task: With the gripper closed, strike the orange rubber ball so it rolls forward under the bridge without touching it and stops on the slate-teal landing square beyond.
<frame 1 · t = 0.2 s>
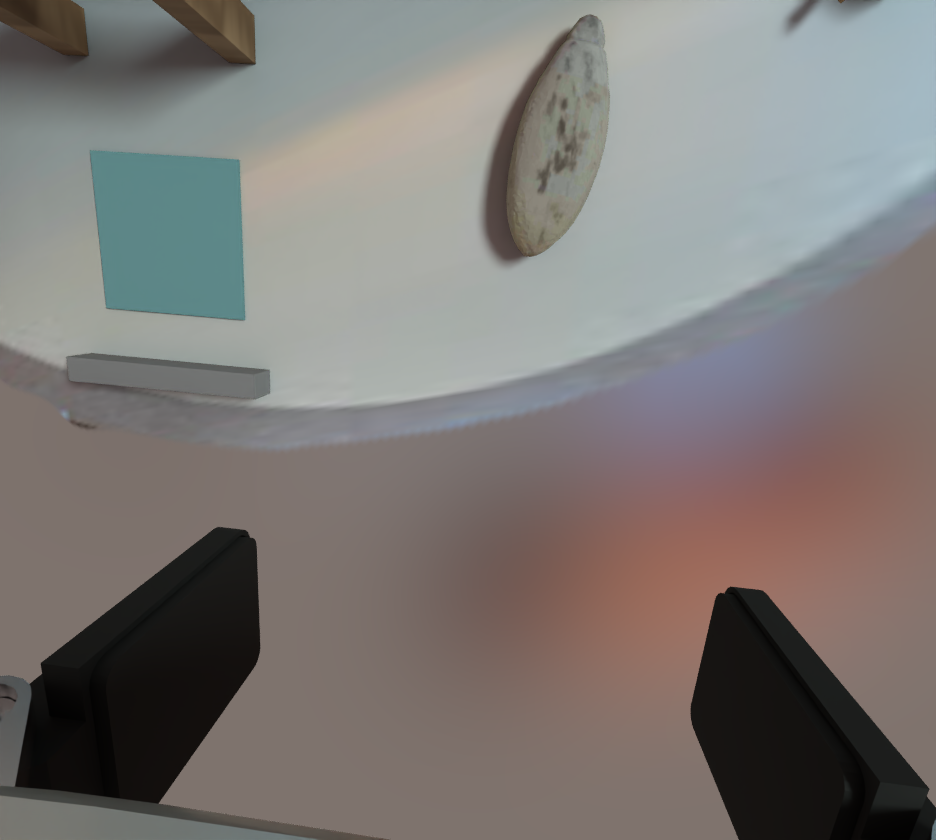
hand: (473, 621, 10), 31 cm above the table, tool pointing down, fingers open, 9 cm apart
bridge: (156, 35, 36), on the table
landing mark: (170, 237, 40), on the table
decorative stone: (557, 152, 36), on the table
stopper rail: (180, 373, 42), on the table
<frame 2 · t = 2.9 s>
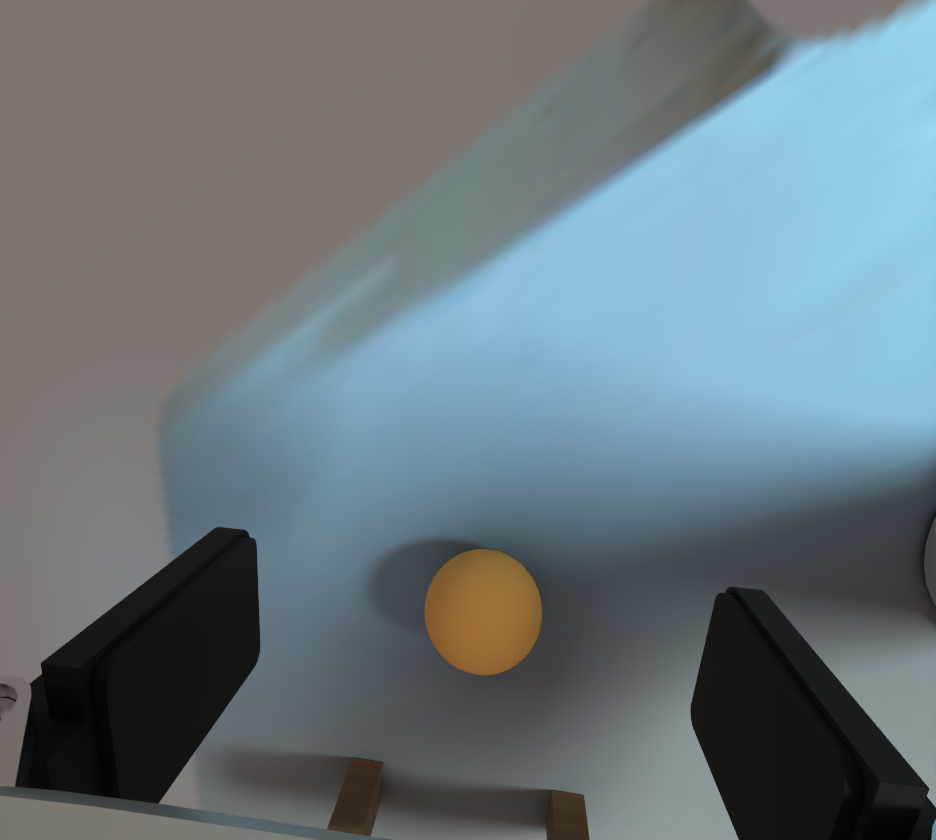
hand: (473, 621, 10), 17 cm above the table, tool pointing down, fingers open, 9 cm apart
bridge: (464, 794, 32), on the table
ball: (483, 609, 25), on the table
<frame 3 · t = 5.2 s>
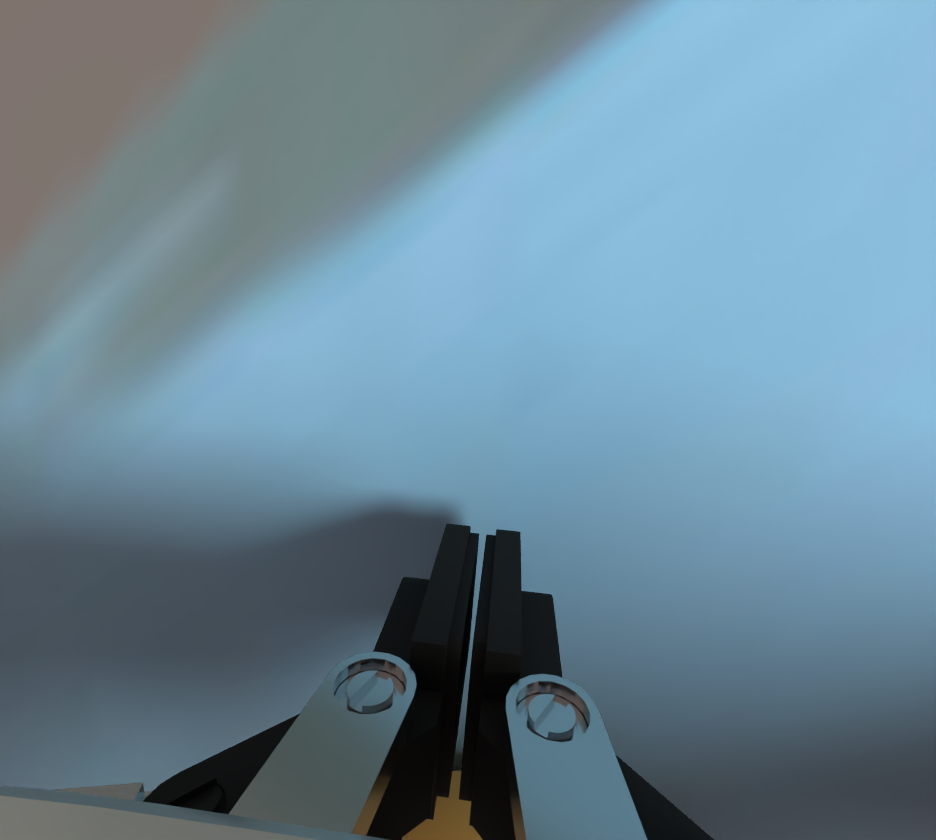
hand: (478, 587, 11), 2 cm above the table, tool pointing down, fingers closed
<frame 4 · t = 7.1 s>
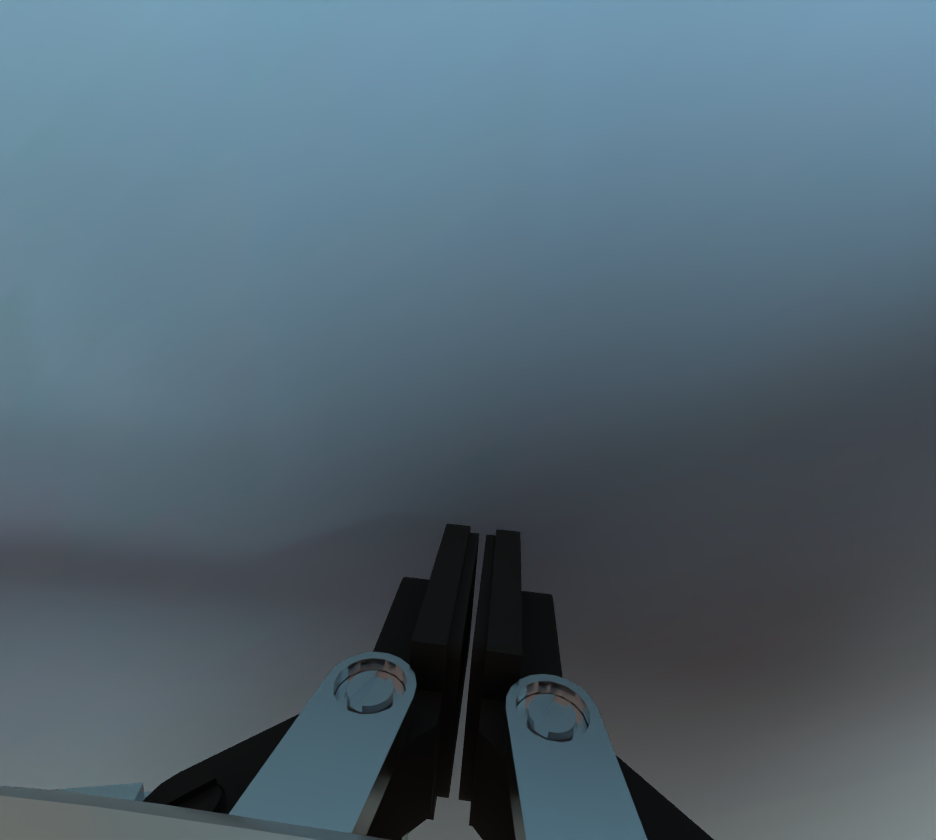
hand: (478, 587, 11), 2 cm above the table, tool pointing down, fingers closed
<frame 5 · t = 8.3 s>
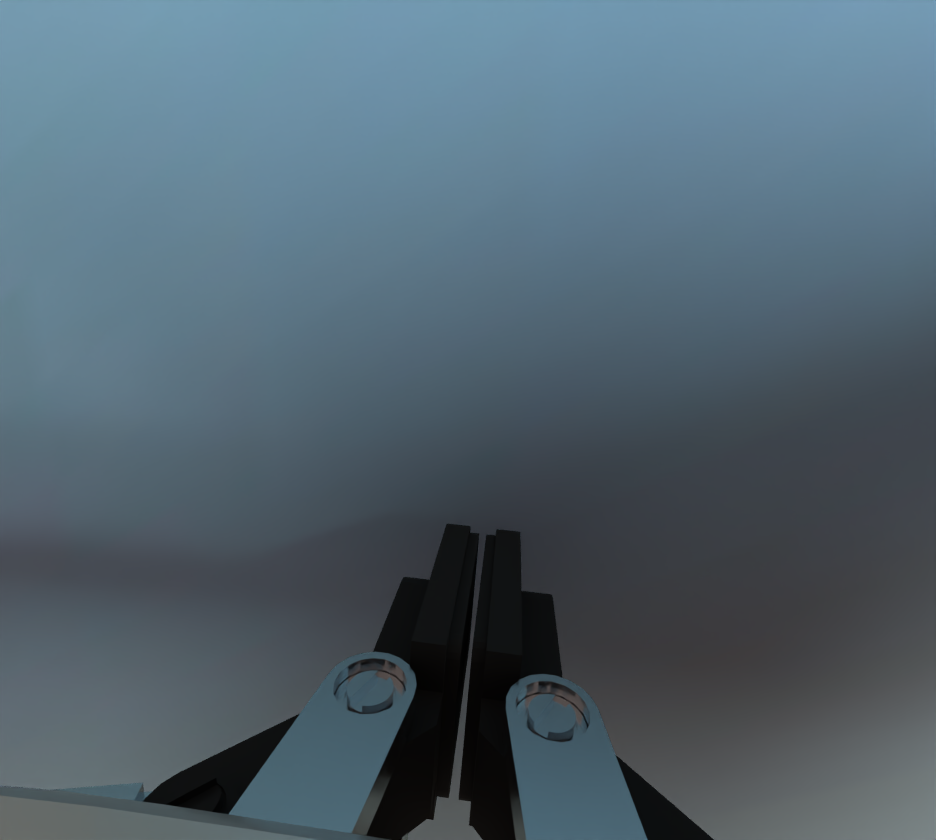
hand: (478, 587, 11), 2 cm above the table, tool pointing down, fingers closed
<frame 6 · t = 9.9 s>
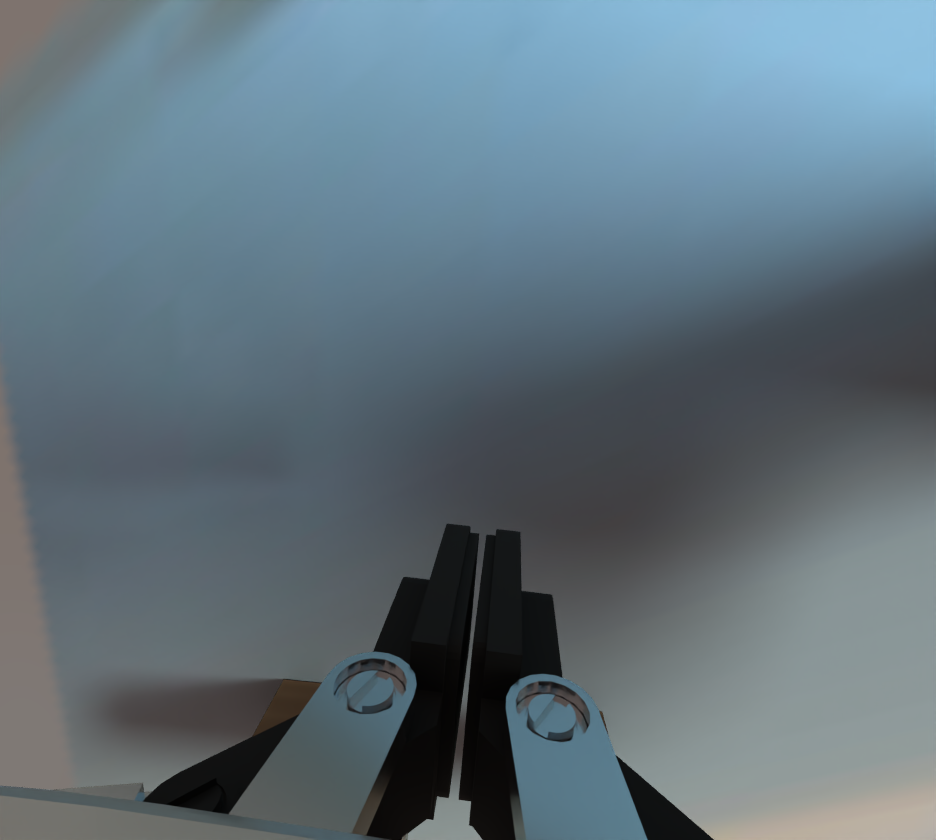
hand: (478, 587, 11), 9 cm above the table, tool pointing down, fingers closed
bridge: (439, 721, 24), on the table
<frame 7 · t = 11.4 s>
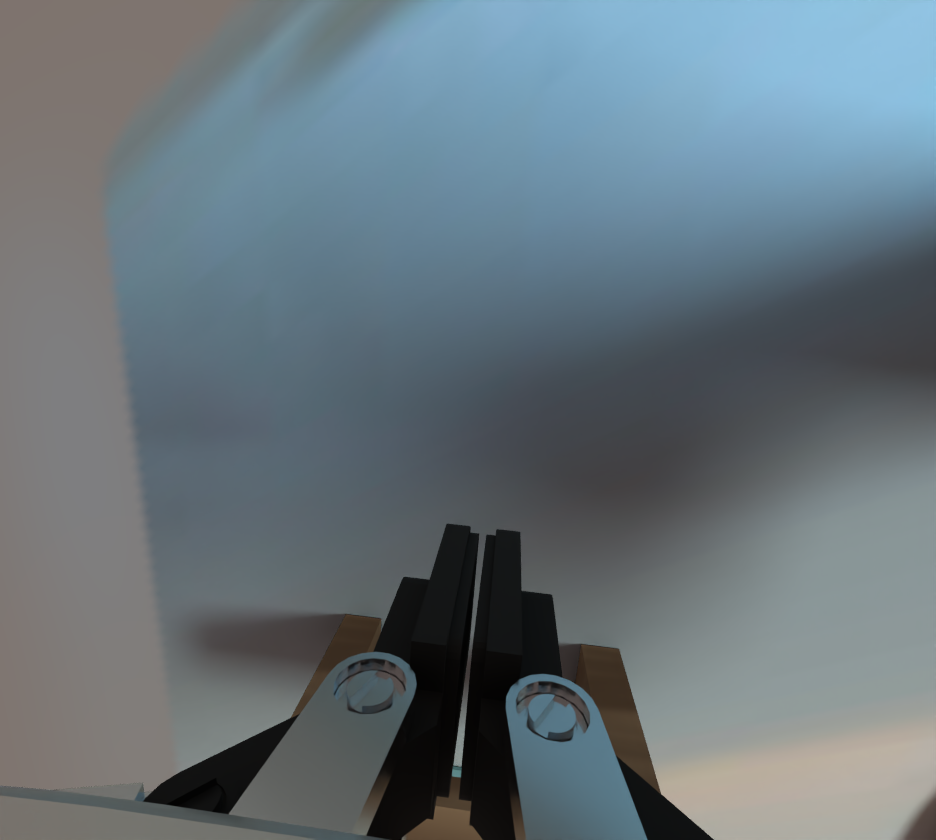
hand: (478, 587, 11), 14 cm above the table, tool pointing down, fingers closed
bridge: (477, 654, 27), on the table
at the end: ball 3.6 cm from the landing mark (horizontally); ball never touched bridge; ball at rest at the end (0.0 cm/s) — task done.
